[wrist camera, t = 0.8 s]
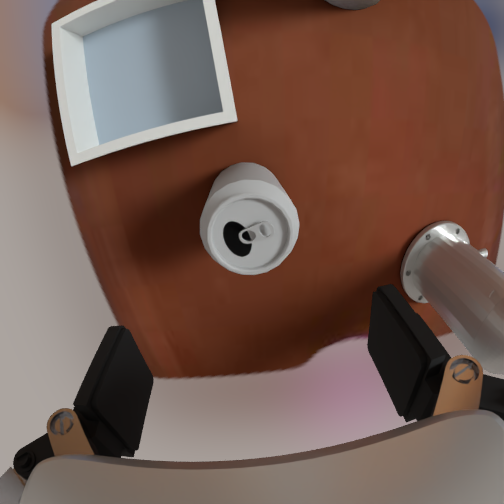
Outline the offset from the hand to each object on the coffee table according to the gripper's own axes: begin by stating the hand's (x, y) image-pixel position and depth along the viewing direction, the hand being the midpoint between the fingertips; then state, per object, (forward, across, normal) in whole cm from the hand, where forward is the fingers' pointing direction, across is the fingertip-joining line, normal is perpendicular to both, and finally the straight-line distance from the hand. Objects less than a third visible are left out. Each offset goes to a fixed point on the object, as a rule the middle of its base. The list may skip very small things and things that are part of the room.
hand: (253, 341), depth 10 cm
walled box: (+23, +7, -16) cm, 29 cm away
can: (+23, 0, 0) cm, 23 cm away
